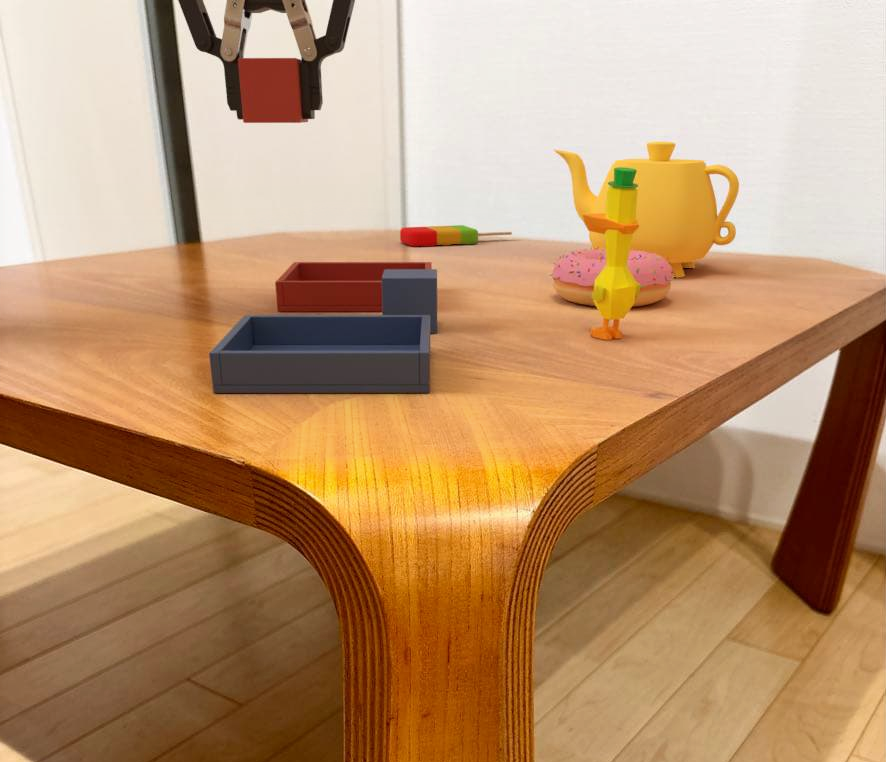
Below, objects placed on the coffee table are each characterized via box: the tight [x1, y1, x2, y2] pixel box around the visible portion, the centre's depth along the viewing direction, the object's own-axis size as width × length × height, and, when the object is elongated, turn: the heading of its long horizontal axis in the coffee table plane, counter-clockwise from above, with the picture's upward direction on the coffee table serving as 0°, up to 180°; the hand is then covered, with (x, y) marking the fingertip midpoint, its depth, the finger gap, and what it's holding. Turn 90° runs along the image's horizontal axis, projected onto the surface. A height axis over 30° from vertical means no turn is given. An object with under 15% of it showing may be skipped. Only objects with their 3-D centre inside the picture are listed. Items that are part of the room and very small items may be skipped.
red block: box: [238, 57, 309, 124], centre depth 68 cm, size 4×4×4 cm
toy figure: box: [583, 167, 641, 341], centre depth 67 cm, size 7×4×12 cm, turn 27°
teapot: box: [553, 141, 740, 278], centre depth 97 cm, size 14×20×13 cm
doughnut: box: [549, 247, 675, 308], centre depth 83 cm, size 11×11×4 cm
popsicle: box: [399, 224, 513, 248], centre depth 119 cm, size 6×15×2 cm, turn 110°
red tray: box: [274, 261, 433, 313], centre depth 83 cm, size 13×11×2 cm
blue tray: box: [208, 314, 431, 394], centre depth 60 cm, size 13×11×2 cm
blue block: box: [381, 268, 438, 334], centre depth 72 cm, size 4×4×4 cm
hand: (276, 117), depth 69 cm, fingers closed on red block, 4 cm apart
